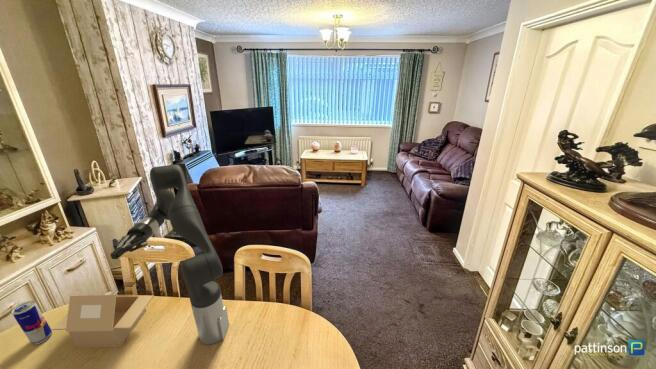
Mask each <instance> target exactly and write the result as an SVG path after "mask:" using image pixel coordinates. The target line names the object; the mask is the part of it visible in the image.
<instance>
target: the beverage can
mask: <svg viewBox="0 0 656 369" xmlns="http://www.w3.org/2000/svg"><path fill="white" fill-rule="evenodd" d="M11 314H12V316H13V318H14V320H15V321H16V322H17V324H18V325H19V327H20V328H21V330H22V331H23V333H24V335H25V336H26V337H27V339H28V341H29V342H30V344H32V345H38V344H42V343H44V342H46V341H47V340H49V338H50V337H51V336H52V334H53V329H52V328H51V326H50V325H49V323H48V320H46V318H45V316H44V315H43V313H42V311H41V309H40V307H39V306H38V304H37V303H36V302H35V301H34V300H28V301H24V302H22V303H20V304H18V305H16V306H15V307H13V308H12V310H11Z"/></svg>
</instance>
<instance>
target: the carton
mask: <svg viewBox="0 0 656 369" xmlns="http://www.w3.org/2000/svg"><path fill="white" fill-rule="evenodd" d="M154 297H155V295H153V294H152V295H116V305H115V315H114V325H113V330H112V331H75V332H68V334H69V336H70V337H71V340H72V341H73V343H74V344H75V347H76V348H103V347H104V348H109V347H111V348H113V347H114V348H115V347H122V345H123V344H124V342H125V341H126V340H127V338H128V337H129V335H130V334H131V333H132V331H133V330H134V329H135V328H136V326H137V324H139V322H140V321H141V319H142V318H143V317H144V315H145V314H146V312H147V309H146V308H147V307H148V306H149V304H150V302H152V300H153V298H154ZM67 317H68V313H67V314H66V315H65V316H64V317H63V318H62V319H60V321H58V323H57V324H55V326H53V328H52V331H62V330H63V331H66V325H67Z"/></svg>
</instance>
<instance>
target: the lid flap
mask: <svg viewBox="0 0 656 369" xmlns="http://www.w3.org/2000/svg"><path fill="white" fill-rule="evenodd" d="M116 296H117V294H71V295H69V302H68V303H69V304H68V311H67V314H68V317H67V325H66V330H65V332H66V333H69V332H75V331H112V330H113V325H114V315H115V305H116Z"/></svg>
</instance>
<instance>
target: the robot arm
mask: <svg viewBox="0 0 656 369" xmlns="http://www.w3.org/2000/svg"><path fill="white" fill-rule="evenodd" d="M149 180H150V184H151V187H152V191H153V192H154V195H155V202H156V203H155V204H154V205H153V207H152V210H151V211H150V212H149V214H147V215H146V216H145V217H144V218H143V219H141V220H140V221H138V222H136V223H135V225H133V226H131V228H130V229H128V231H127V233H126V235H124V236H122V237H121V238H119V239H117V238H113V239H112V247H113V251H112V252H111V253H110V258H111V259H112V260H118V259H120V257H122V256H123V255H124V254H126V253H128V252H130V253H132V252H134V251H137V250H139V249H142V248H144V247H146V246H148V240H149V239H150V238H151V237H152V236H153V235H155V233H156V232H157V231H158V229H159V228H161V226H162V225H163V224H164V223H165V221H166V220H167V221H169V223H170V225H171V228H172V230H173V232H175V233H176V235H178V236H180V237H181V238H183V239H185V240H187V241H189V242H190V243H193V244H194V245H196V247H198V248H199V249H200V251H201V252H202V253H201V254H197V255H195V256H194V255H193V256H191V257H189V258H186V259H184V260H183V261H181V262H182V263H181V264H180V265H181V266H180V267H181V270H180V271H181V274H182V278H183V281H184V283H185V286H186V289H187V294H188V297H189V301H190V307H191V310H192V314H193V317H194V323H195V326H196V329H197V333H198V337H199V340H200V342H201V343H202V344H204V345H213V344H214V345H215V344H216V343H218V342H220V341H224V340H225V338H226V335H227V332H228V328H229V327H230V322H229V315H228V310H227V306H226V305H224V301H223V296H222V291H221V286H220V285H219V283H217V282H216V281H215V280H217V279H219V278H220V277H222V276H223V272H224V270H223V268H224V267H223V265H222V262H221V260H220V257H219V255H218V254H217V251H216V249H215V247H214V245H213V243H212V241H211V240H210V238H209V236H208V233H207V230H206V228H205V225H204V223H203V220H202V218H201V215H200V212H199V210H198V207H197V205H196V204H195V201H194V198H193V197H192V194H191V192H190V189H189V185H188V182H187V179H186V176H185V173H184V170H183V169H182V167H181V166H180V165H179V164H169V165H158V166H154V167H152V168H151V169H150V170H149ZM176 188H177V192H176V195H175V194H174V193H173V191H171V189H176Z"/></svg>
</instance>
